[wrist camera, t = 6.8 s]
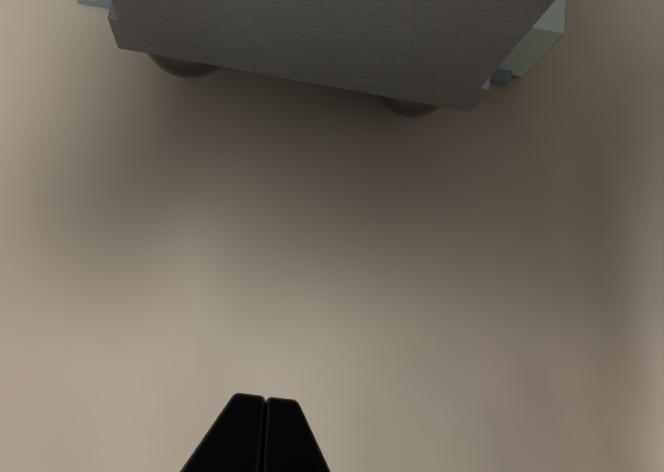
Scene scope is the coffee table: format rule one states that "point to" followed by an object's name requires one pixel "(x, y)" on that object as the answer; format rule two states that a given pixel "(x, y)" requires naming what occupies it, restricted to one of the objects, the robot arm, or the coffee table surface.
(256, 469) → the robot arm
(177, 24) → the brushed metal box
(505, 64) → the dock bay
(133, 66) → the coffee table surface
